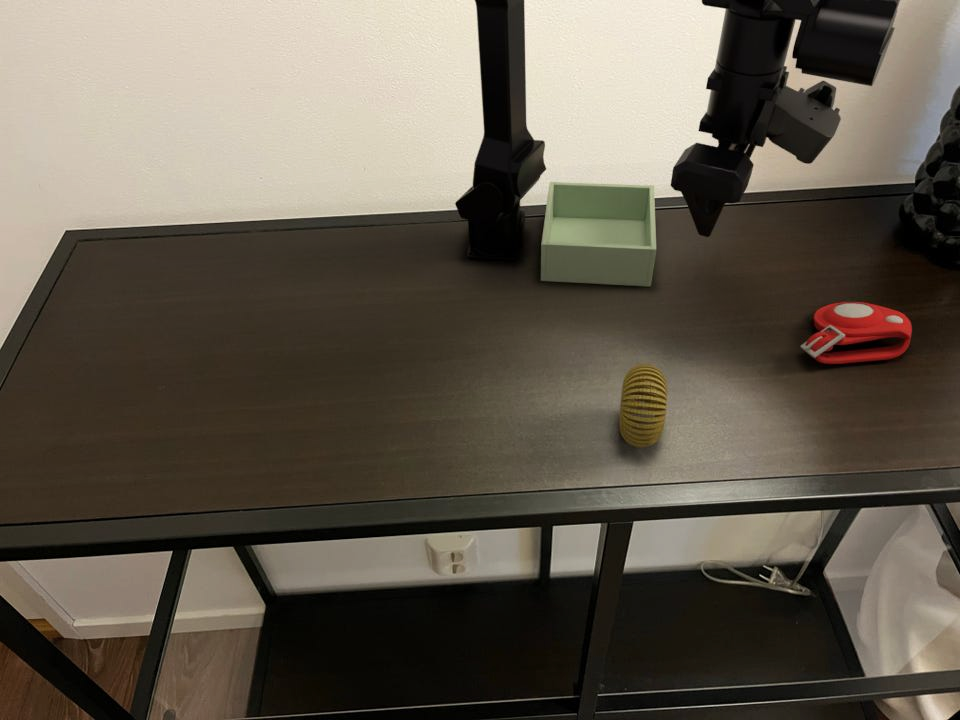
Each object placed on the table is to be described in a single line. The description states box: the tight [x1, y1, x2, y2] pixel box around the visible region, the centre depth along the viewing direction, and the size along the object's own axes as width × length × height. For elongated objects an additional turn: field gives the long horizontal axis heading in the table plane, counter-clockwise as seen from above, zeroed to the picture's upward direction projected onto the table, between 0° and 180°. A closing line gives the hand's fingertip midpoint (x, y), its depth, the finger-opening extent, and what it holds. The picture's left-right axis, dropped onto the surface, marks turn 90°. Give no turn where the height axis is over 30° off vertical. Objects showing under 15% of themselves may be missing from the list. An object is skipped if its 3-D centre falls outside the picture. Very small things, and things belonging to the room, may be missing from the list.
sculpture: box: [618, 363, 668, 448], centre depth 71 cm, size 8×4×8 cm, turn 170°
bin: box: [540, 181, 657, 288], centre depth 93 cm, size 13×13×6 cm
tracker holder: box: [800, 301, 913, 365], centre depth 80 cm, size 12×4×10 cm
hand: (717, 210), depth 76 cm, fingers open, 9 cm apart
